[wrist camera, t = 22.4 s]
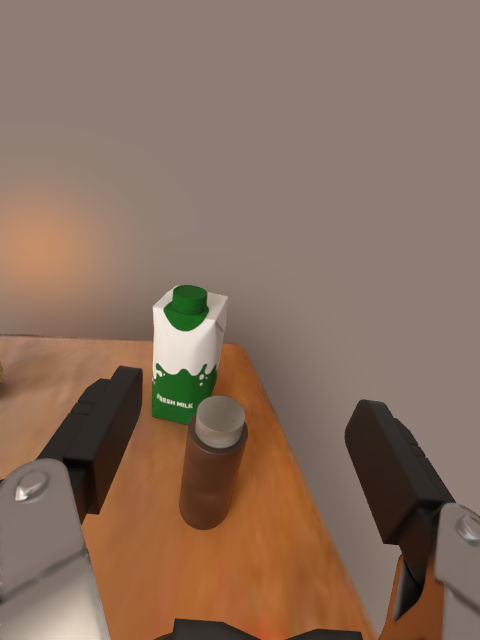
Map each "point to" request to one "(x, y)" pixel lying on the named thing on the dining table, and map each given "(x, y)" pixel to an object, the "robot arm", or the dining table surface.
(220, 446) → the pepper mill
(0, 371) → the fruit
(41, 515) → the robot arm
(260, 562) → the dining table surface
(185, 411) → the milk carton
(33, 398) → the dining table surface
